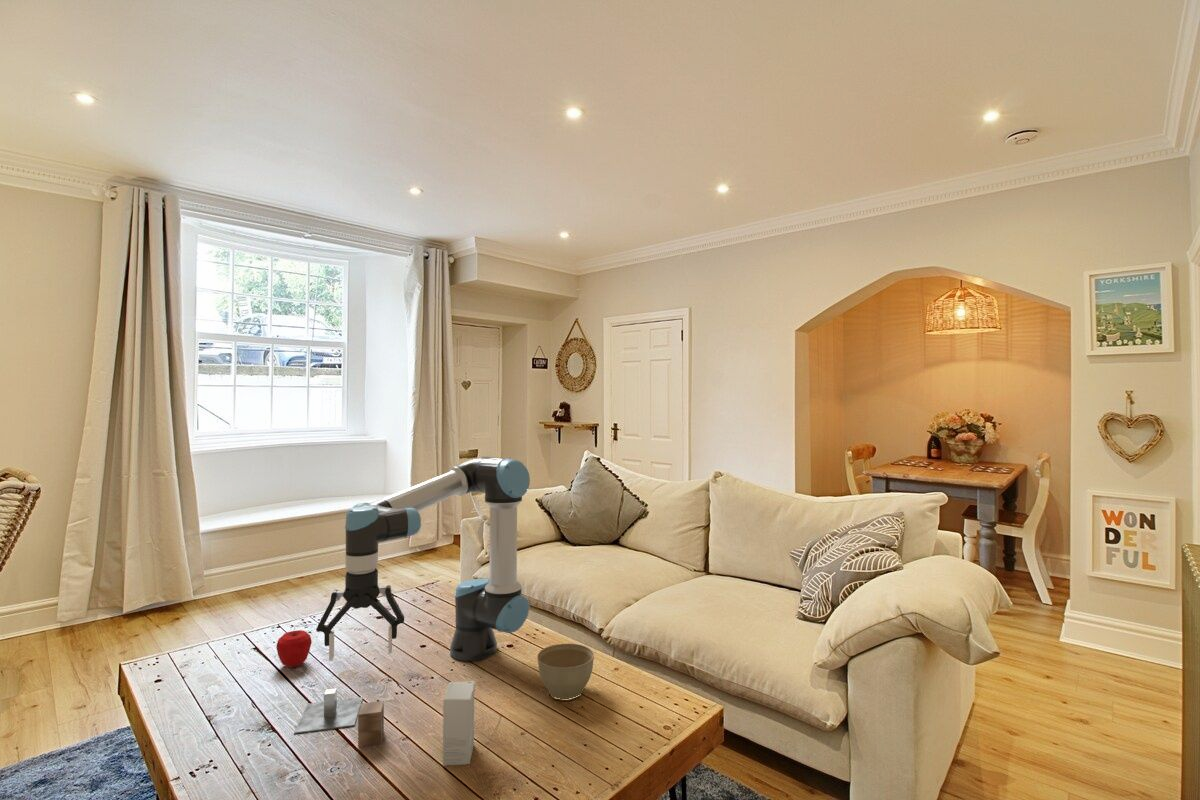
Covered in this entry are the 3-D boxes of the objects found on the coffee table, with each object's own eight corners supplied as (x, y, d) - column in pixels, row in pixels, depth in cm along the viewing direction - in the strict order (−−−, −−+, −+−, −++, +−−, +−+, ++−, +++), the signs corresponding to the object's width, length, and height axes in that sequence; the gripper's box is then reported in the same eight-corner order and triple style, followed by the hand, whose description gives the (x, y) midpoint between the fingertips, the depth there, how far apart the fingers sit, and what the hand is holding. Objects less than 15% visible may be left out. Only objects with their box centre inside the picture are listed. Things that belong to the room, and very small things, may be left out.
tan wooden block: (383, 731, 145) (383, 700, 145) (381, 743, 140) (381, 711, 140) (361, 734, 144) (361, 703, 144) (358, 747, 139) (358, 714, 138)
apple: (269, 669, 178) (269, 634, 178) (296, 656, 187) (295, 622, 187) (292, 675, 174) (292, 639, 174) (318, 661, 183) (318, 627, 183)
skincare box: (448, 745, 139) (448, 680, 139) (476, 743, 140) (475, 679, 140) (441, 767, 131) (441, 699, 131) (471, 765, 132) (471, 697, 131)
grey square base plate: (362, 698, 161) (362, 675, 161) (354, 726, 147) (354, 701, 147) (308, 705, 157) (307, 681, 157) (294, 734, 144) (294, 708, 144)
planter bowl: (603, 685, 168) (603, 648, 168) (578, 713, 153) (578, 672, 153) (555, 674, 175) (555, 638, 175) (526, 700, 160) (526, 660, 160)
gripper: (414, 561, 151) (414, 642, 151) (309, 569, 144) (309, 654, 144) (414, 569, 144) (413, 654, 144) (303, 578, 137) (303, 667, 137)
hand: (361, 654), depth 144 cm, fingers open, 13 cm apart
